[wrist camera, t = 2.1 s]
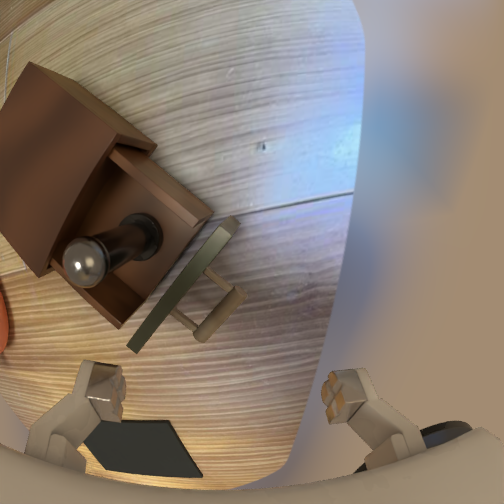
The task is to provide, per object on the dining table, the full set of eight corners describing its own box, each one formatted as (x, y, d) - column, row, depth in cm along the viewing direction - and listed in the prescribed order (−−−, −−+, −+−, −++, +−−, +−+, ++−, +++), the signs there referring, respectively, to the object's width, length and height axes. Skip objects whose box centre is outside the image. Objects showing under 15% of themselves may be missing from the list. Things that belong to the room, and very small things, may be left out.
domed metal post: (172, 232, 27) (112, 266, 15) (146, 267, 27) (83, 316, 16) (137, 202, 26) (63, 218, 15) (114, 238, 27) (39, 271, 16)
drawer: (275, 252, 28) (279, 274, 21) (191, 345, 30) (175, 383, 24) (134, 136, 26) (99, 125, 19) (70, 240, 28) (31, 254, 22)
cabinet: (157, 145, 27) (117, 132, 18) (86, 255, 30) (38, 278, 21) (74, 80, 25) (28, 61, 17) (18, 182, 28) (-31, 187, 20)
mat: (168, 420, 34) (167, 422, 34) (203, 475, 37) (202, 477, 37) (67, 415, 36) (65, 417, 36) (106, 467, 39) (105, 469, 39)
